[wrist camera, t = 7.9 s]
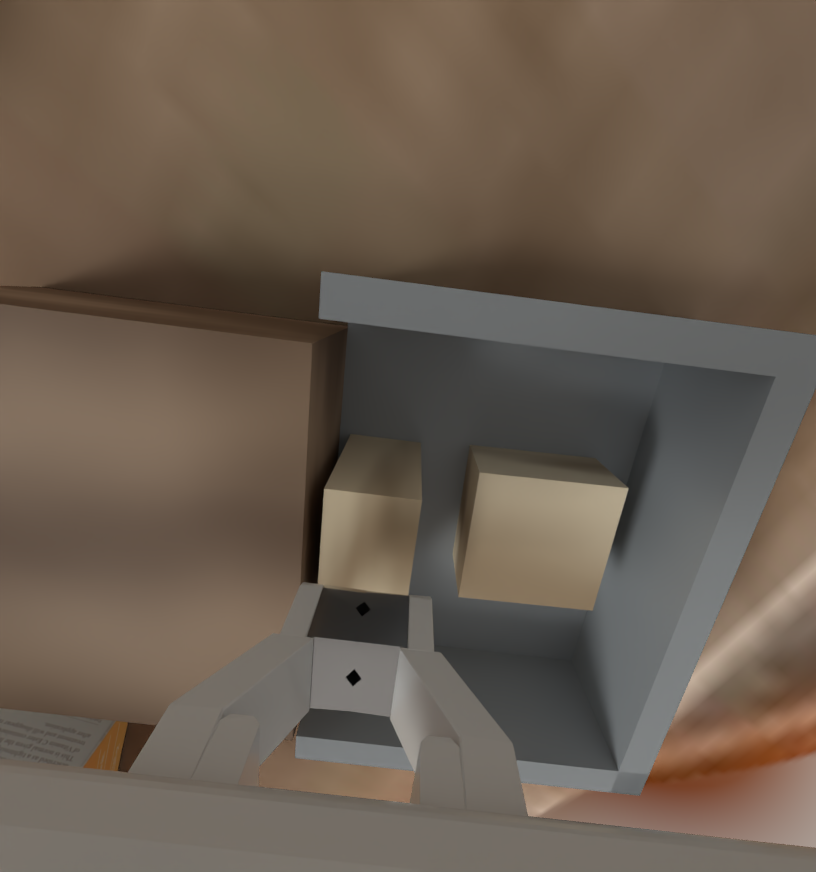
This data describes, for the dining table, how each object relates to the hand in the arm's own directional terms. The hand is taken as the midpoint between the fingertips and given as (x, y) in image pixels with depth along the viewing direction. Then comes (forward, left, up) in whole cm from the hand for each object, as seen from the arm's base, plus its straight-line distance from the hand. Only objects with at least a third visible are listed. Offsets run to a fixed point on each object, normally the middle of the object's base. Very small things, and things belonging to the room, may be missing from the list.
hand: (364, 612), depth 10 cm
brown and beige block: (0, +7, -7) cm, 10 cm away
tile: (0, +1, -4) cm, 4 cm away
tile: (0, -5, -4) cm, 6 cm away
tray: (0, -4, -7) cm, 8 cm away
